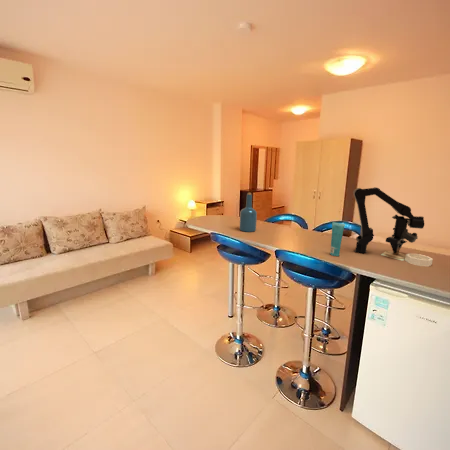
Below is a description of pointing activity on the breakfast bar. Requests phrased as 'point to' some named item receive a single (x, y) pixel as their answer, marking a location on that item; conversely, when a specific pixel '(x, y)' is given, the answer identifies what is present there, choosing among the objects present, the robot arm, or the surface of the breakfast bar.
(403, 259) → the mat
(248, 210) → the wine bottle
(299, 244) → the breakfast bar surface
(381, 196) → the robot arm
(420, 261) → the bowl
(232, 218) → the breakfast bar surface
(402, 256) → the lid
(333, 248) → the tube
